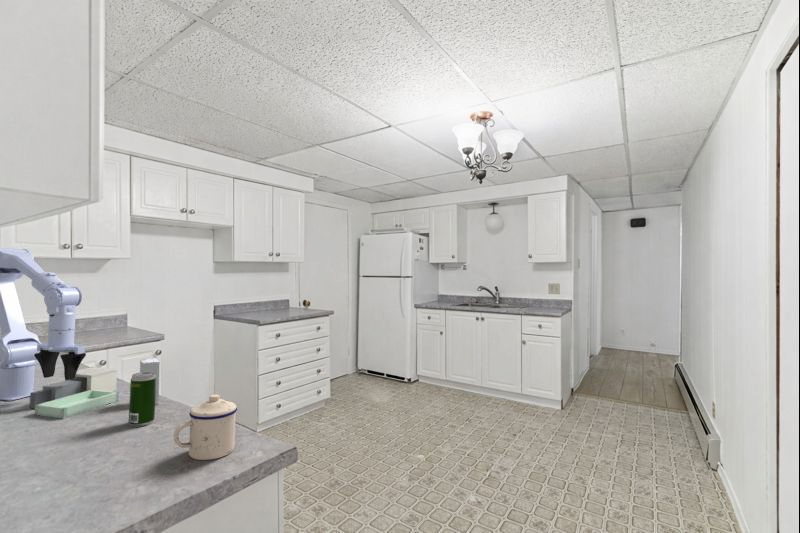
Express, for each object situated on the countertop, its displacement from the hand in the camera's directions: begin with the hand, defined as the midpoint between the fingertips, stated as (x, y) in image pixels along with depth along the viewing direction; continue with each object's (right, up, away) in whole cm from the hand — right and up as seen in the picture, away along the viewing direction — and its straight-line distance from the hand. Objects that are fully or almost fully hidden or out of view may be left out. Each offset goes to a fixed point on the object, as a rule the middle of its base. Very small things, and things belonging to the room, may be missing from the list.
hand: (59, 378), depth 111 cm
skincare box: (+25, -8, +1) cm, 26 cm away
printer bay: (+2, -7, +9) cm, 12 cm away
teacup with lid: (+56, -8, -29) cm, 64 cm away
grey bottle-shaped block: (0, -7, -1) cm, 7 cm away
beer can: (+33, -7, -14) cm, 36 cm away
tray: (+9, -7, -4) cm, 12 cm away
